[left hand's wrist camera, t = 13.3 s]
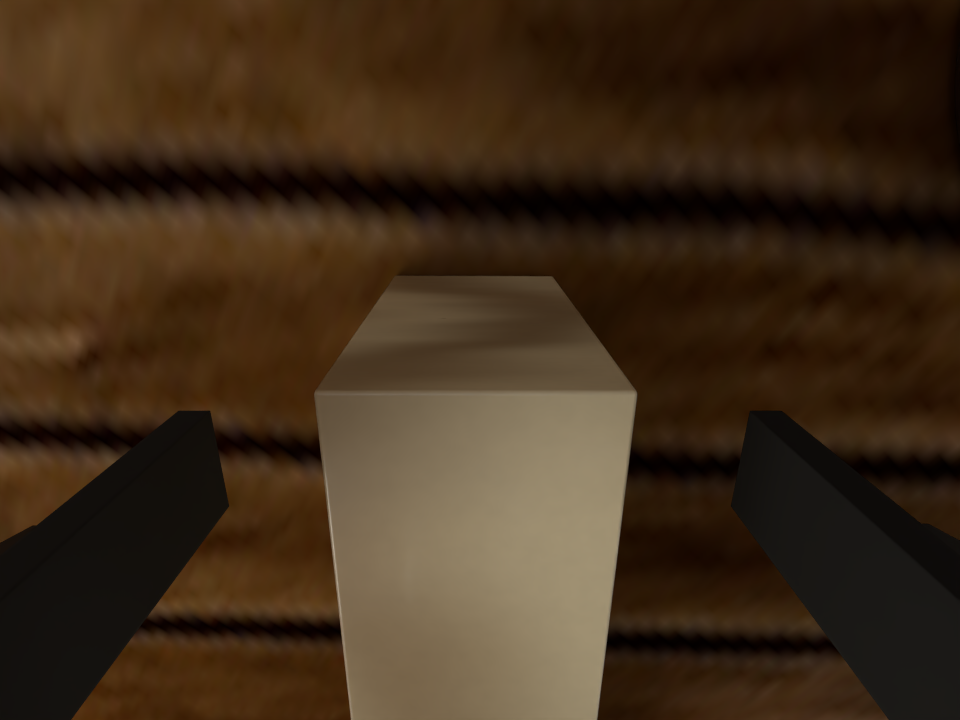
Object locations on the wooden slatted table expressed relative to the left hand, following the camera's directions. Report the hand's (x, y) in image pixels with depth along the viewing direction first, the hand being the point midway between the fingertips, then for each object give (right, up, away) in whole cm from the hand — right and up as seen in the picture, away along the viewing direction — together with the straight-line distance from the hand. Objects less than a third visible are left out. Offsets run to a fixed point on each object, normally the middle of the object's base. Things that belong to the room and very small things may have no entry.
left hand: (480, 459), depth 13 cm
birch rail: (0, -7, +8) cm, 11 cm away
